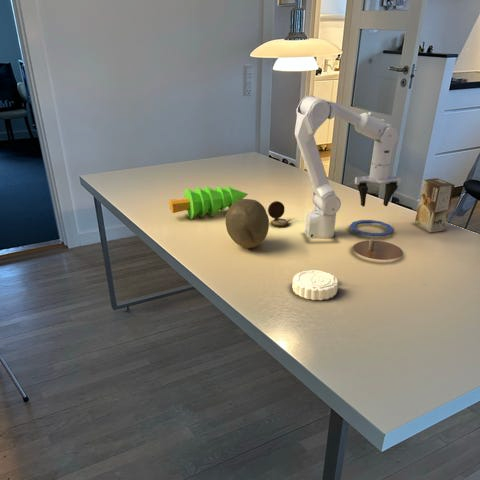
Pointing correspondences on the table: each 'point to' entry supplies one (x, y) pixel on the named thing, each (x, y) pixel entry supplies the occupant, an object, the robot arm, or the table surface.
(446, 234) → the table surface
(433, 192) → the coffee box
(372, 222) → the ring
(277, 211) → the compass
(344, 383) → the table surface
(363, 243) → the platform
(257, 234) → the brown coconut
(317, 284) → the mooncake
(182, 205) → the decorative tree
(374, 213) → the table surface
